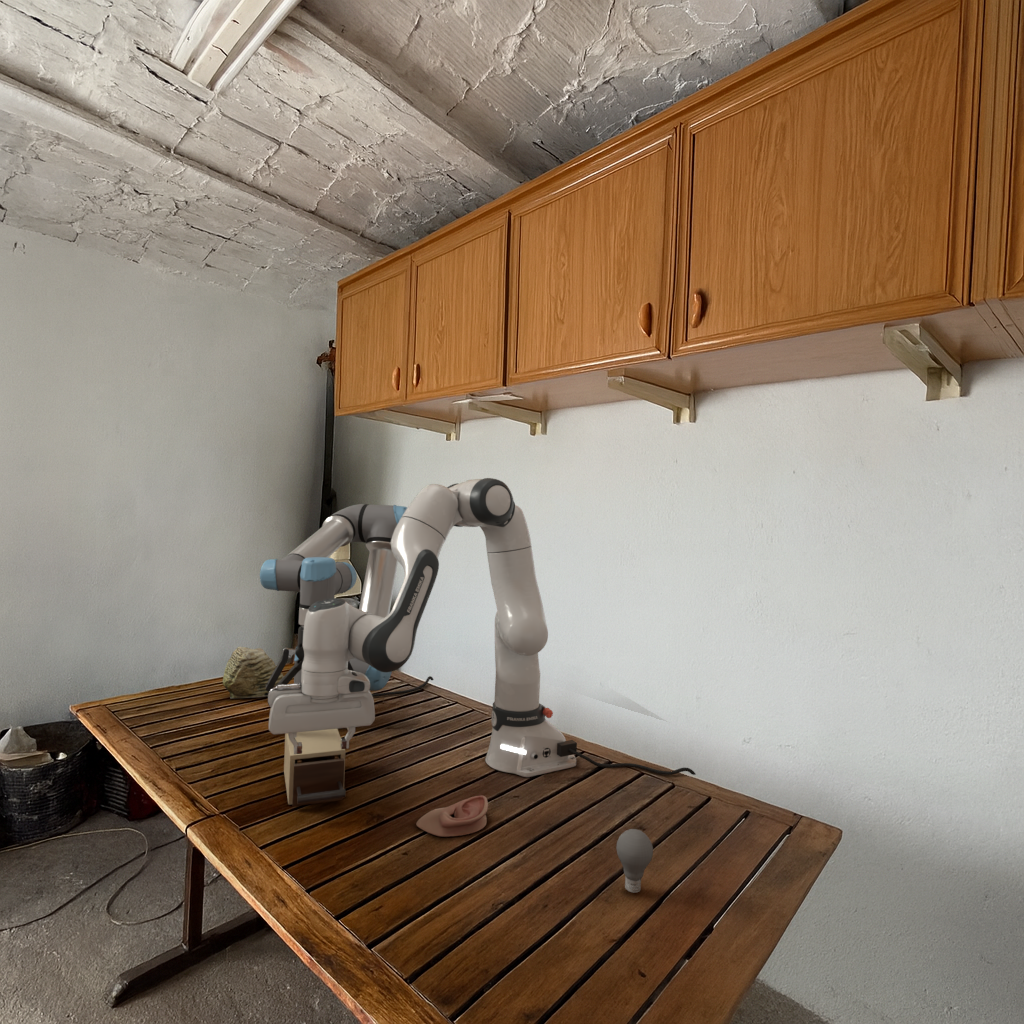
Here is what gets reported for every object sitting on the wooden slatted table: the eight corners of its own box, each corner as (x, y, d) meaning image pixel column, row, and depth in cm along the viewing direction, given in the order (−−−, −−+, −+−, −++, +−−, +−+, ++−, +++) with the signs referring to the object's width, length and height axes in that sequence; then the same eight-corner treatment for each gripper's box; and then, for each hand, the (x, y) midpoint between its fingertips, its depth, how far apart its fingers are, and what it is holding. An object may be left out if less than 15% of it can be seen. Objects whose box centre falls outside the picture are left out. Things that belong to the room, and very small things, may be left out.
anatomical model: (411, 811, 121) (430, 785, 132) (410, 832, 121) (430, 804, 132) (478, 821, 118) (492, 794, 129) (477, 842, 118) (492, 813, 129)
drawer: (347, 813, 126) (348, 771, 125) (294, 820, 122) (296, 778, 122) (333, 769, 145) (334, 733, 145) (287, 774, 141) (289, 738, 141)
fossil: (218, 695, 195) (220, 647, 195) (278, 685, 208) (279, 640, 207) (228, 703, 189) (230, 653, 188) (289, 692, 201) (290, 645, 201)
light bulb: (610, 879, 108) (613, 822, 108) (644, 879, 109) (647, 822, 109) (619, 902, 102) (622, 840, 102) (655, 901, 103) (658, 840, 103)
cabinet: (343, 797, 134) (345, 749, 134) (288, 804, 130) (290, 755, 130) (333, 765, 149) (335, 722, 149) (283, 771, 145) (285, 727, 145)
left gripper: (257, 630, 135) (252, 729, 136) (374, 627, 145) (370, 719, 145) (256, 624, 142) (252, 718, 142) (368, 621, 152) (364, 709, 152)
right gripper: (268, 690, 119) (266, 763, 119) (378, 682, 127) (375, 751, 127) (267, 680, 125) (265, 750, 125) (372, 674, 133) (369, 739, 133)
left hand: (311, 719), depth 144 cm, fingers open, 13 cm apart
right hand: (321, 750), depth 126 cm, fingers open, 8 cm apart
